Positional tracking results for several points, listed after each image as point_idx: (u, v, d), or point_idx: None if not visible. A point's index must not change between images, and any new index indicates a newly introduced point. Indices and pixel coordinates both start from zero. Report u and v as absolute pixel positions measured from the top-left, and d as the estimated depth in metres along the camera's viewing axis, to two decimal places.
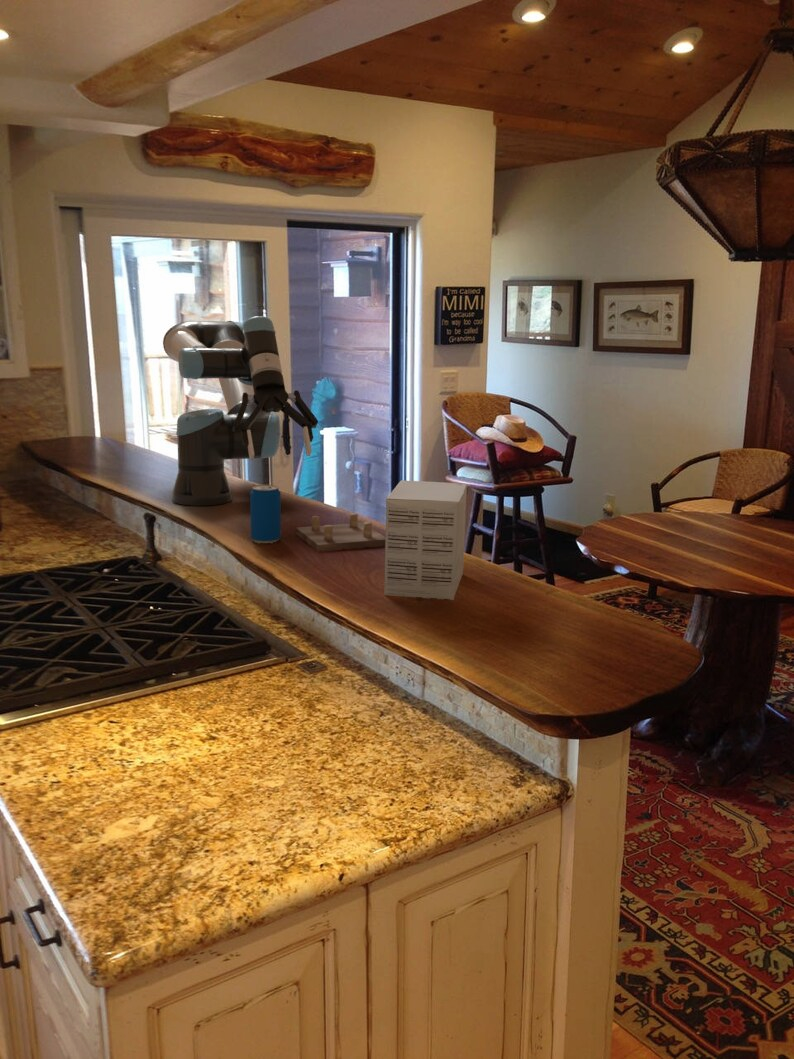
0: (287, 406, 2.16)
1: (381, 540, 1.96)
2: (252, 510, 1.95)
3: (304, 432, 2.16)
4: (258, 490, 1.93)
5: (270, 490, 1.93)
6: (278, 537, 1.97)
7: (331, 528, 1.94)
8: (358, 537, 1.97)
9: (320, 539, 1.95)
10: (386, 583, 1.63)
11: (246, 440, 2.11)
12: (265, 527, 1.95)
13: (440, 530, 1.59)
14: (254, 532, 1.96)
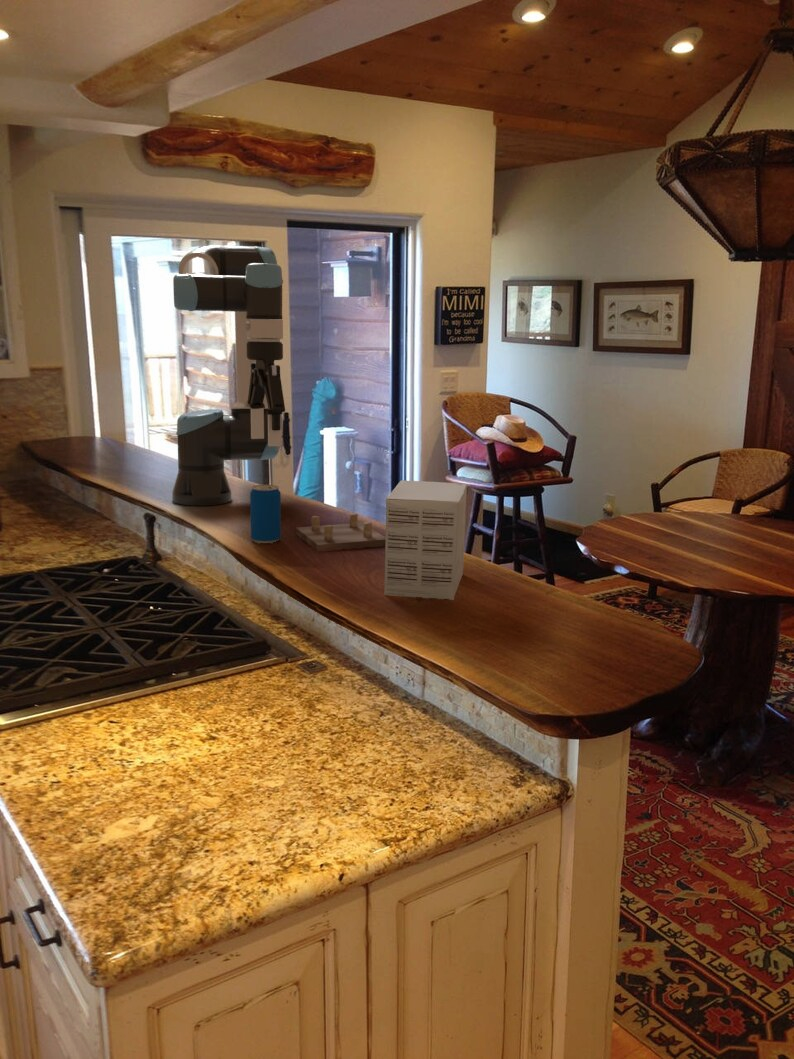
0: (262, 386, 1.88)
1: (381, 540, 1.96)
2: (252, 510, 1.95)
3: None
4: (258, 490, 1.93)
5: (270, 490, 1.93)
6: (278, 537, 1.97)
7: (331, 528, 1.94)
8: (358, 537, 1.97)
9: (320, 539, 1.95)
10: (386, 583, 1.63)
11: None
12: (265, 527, 1.95)
13: (440, 530, 1.59)
14: (254, 532, 1.96)
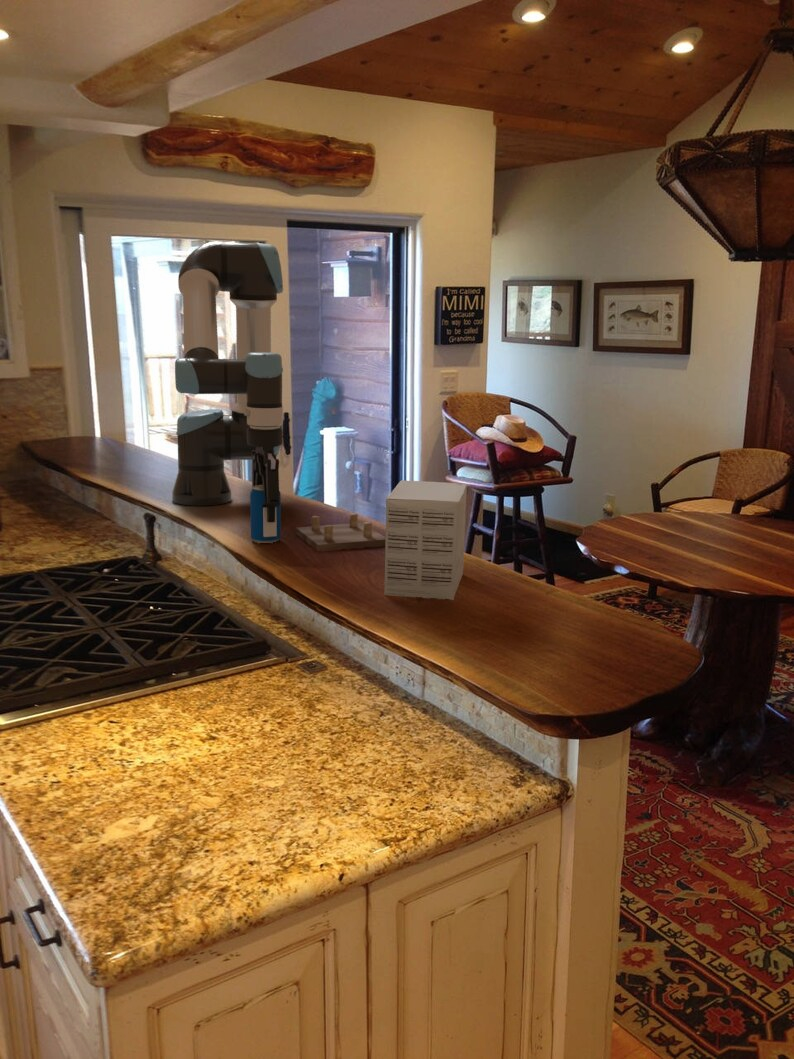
0: (260, 474, 1.92)
1: (381, 540, 1.96)
2: (252, 510, 1.95)
3: None
4: (258, 490, 1.93)
5: None
6: (278, 537, 1.97)
7: (331, 528, 1.94)
8: (358, 537, 1.97)
9: (320, 539, 1.95)
10: (386, 583, 1.63)
11: None
12: None
13: (440, 530, 1.59)
14: (254, 532, 1.96)
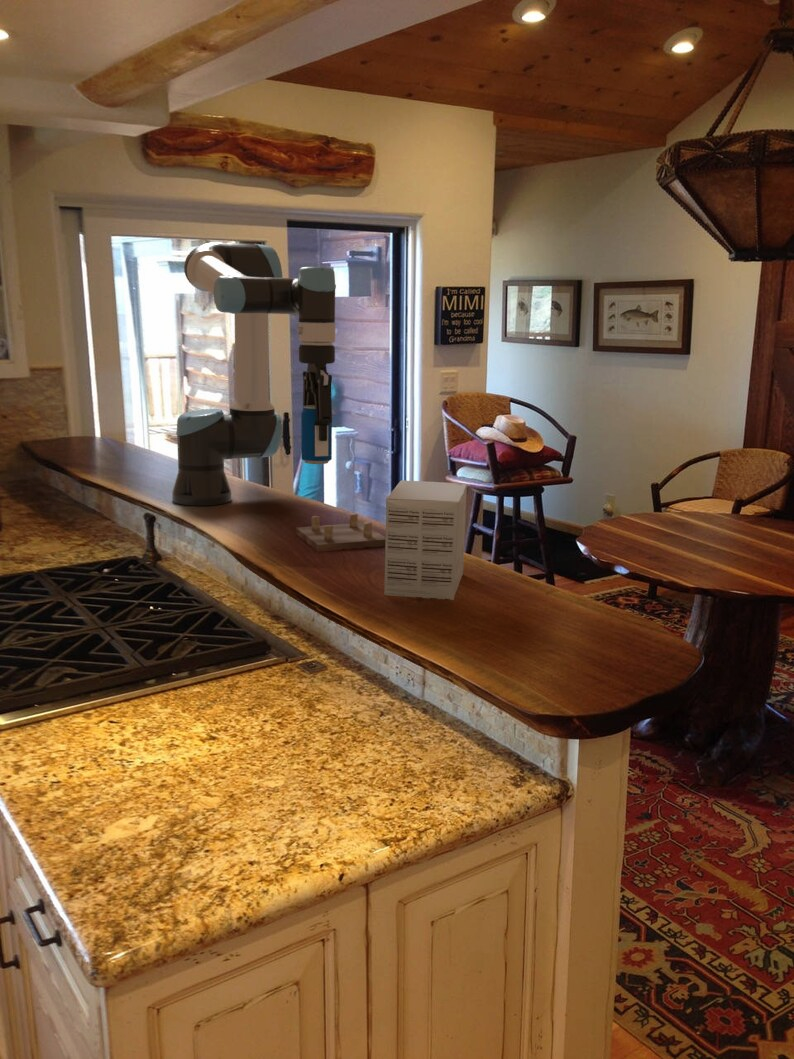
0: (312, 392, 1.90)
1: (381, 540, 1.96)
2: (303, 429, 1.92)
3: None
4: (309, 408, 1.91)
5: None
6: (329, 458, 1.94)
7: (331, 528, 1.94)
8: (358, 537, 1.97)
9: (320, 539, 1.95)
10: (386, 583, 1.63)
11: None
12: None
13: (440, 530, 1.59)
14: (305, 452, 1.93)
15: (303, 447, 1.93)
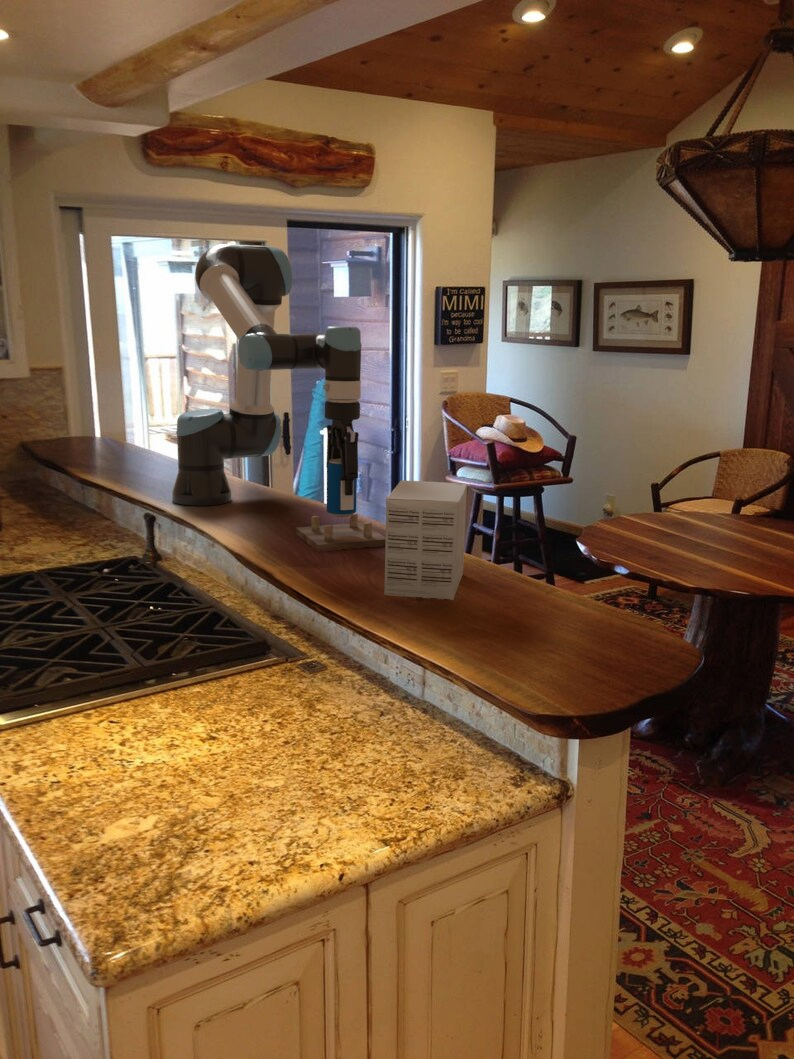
0: (338, 447, 1.94)
1: (381, 540, 1.96)
2: (329, 483, 1.96)
3: None
4: (336, 463, 1.94)
5: None
6: (354, 510, 1.98)
7: (331, 528, 1.94)
8: (358, 537, 1.97)
9: (320, 539, 1.95)
10: (386, 583, 1.63)
11: None
12: None
13: (441, 530, 1.59)
14: (331, 506, 1.97)
15: (329, 500, 1.97)
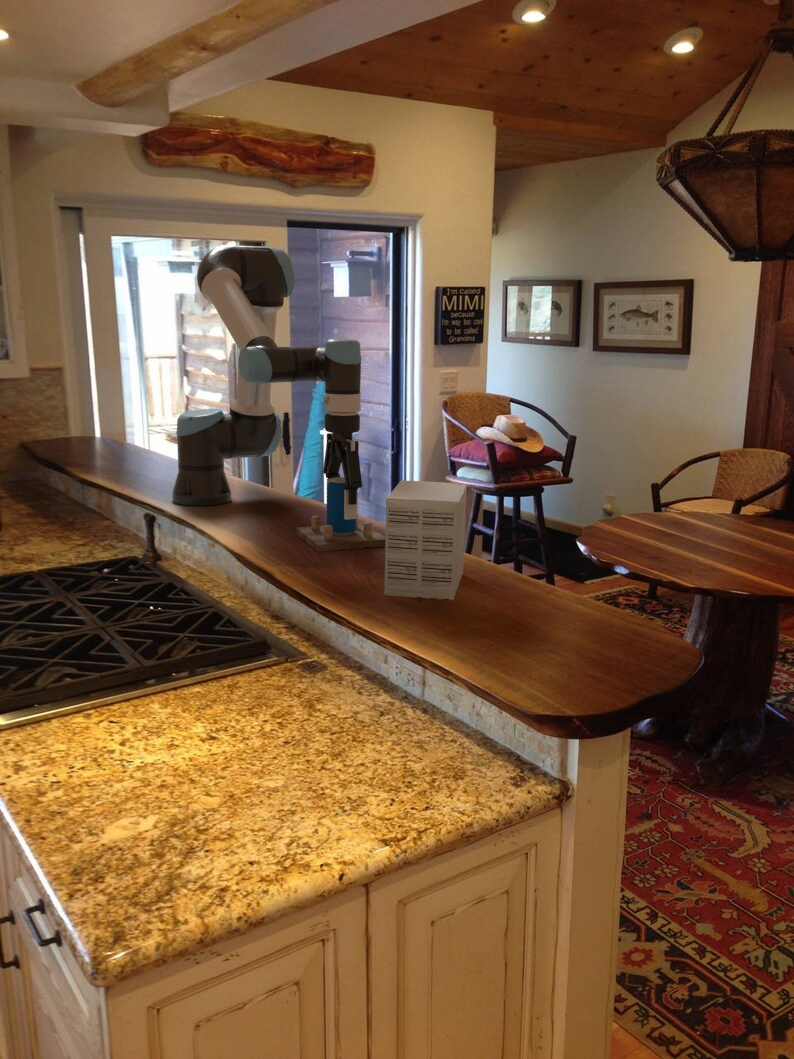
0: (339, 459, 1.93)
1: (381, 540, 1.96)
2: (329, 502, 1.97)
3: None
4: (336, 482, 1.96)
5: None
6: (354, 529, 1.99)
7: (331, 528, 1.94)
8: (358, 537, 1.97)
9: (320, 539, 1.95)
10: (386, 583, 1.63)
11: None
12: (342, 519, 1.97)
13: (440, 530, 1.59)
14: (331, 524, 1.98)
15: (329, 519, 1.98)
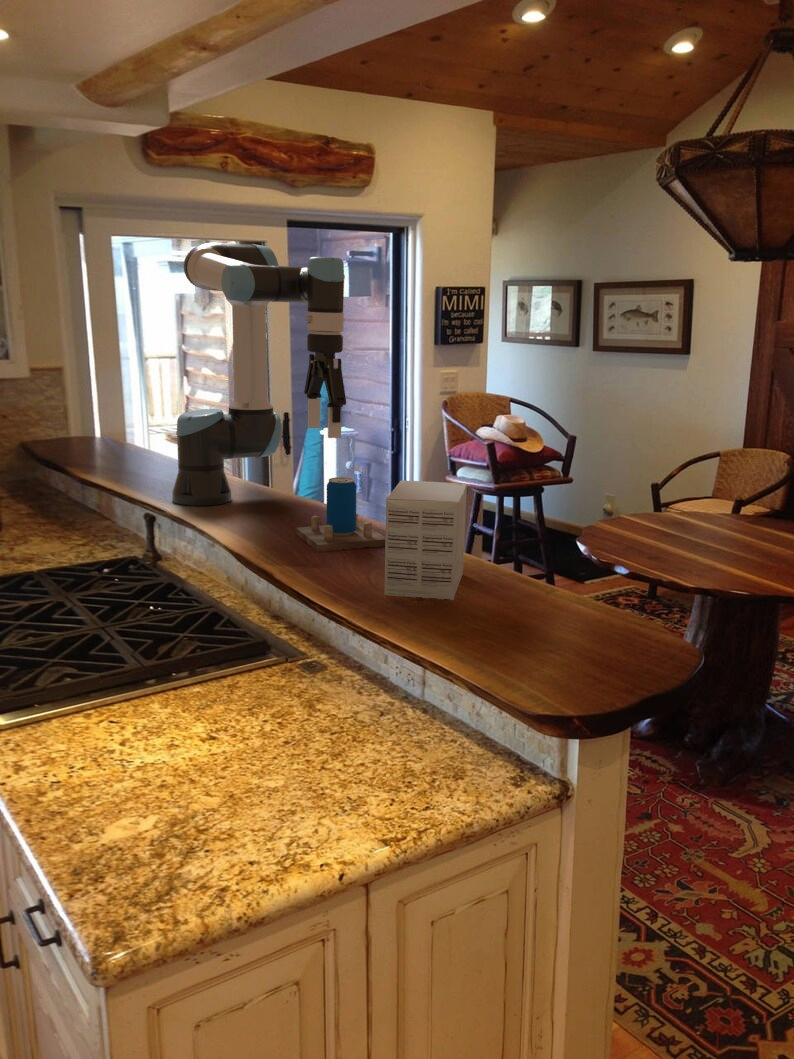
0: (322, 378, 1.91)
1: (381, 540, 1.96)
2: (329, 502, 1.97)
3: None
4: (335, 482, 1.96)
5: (347, 482, 1.96)
6: (354, 529, 1.99)
7: (331, 528, 1.94)
8: (358, 537, 1.97)
9: (320, 539, 1.95)
10: (386, 583, 1.63)
11: None
12: (342, 519, 1.97)
13: (440, 530, 1.59)
14: (331, 524, 1.98)
15: (328, 519, 1.98)
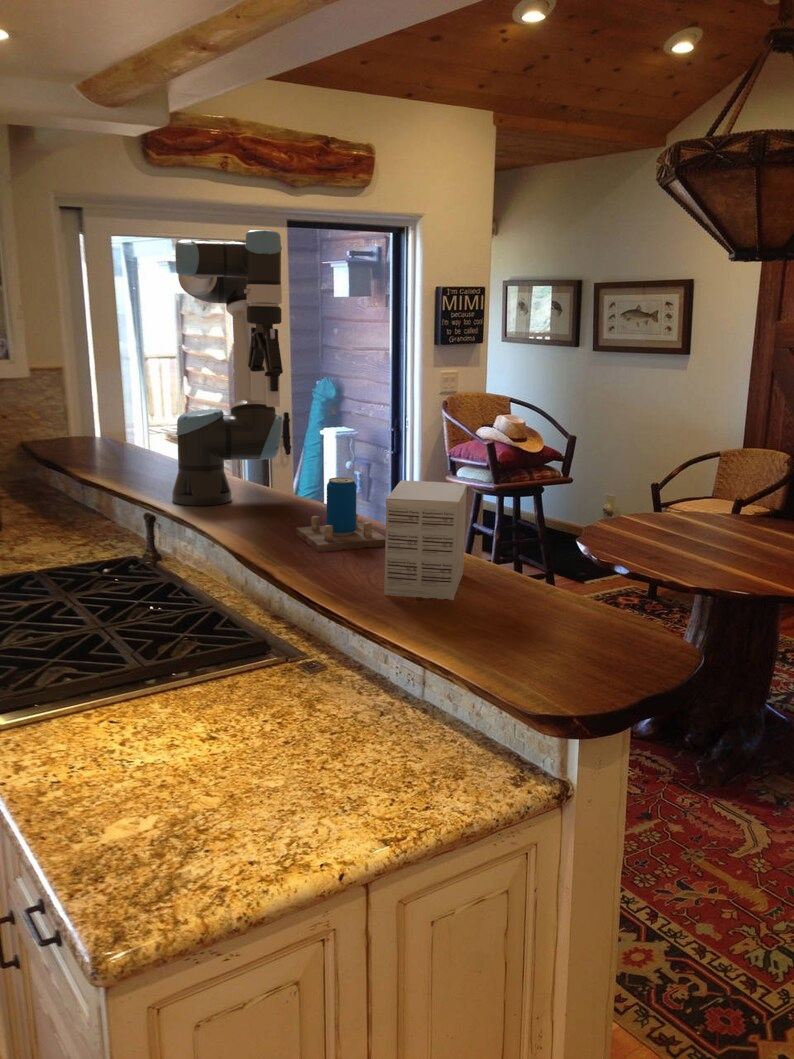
0: (261, 349, 1.96)
1: (381, 540, 1.96)
2: (329, 502, 1.97)
3: None
4: (335, 482, 1.96)
5: (347, 482, 1.96)
6: (354, 529, 1.99)
7: (331, 528, 1.94)
8: (358, 537, 1.97)
9: (320, 539, 1.95)
10: (386, 583, 1.63)
11: None
12: (342, 519, 1.97)
13: (440, 530, 1.59)
14: (331, 524, 1.98)
15: (328, 519, 1.98)
